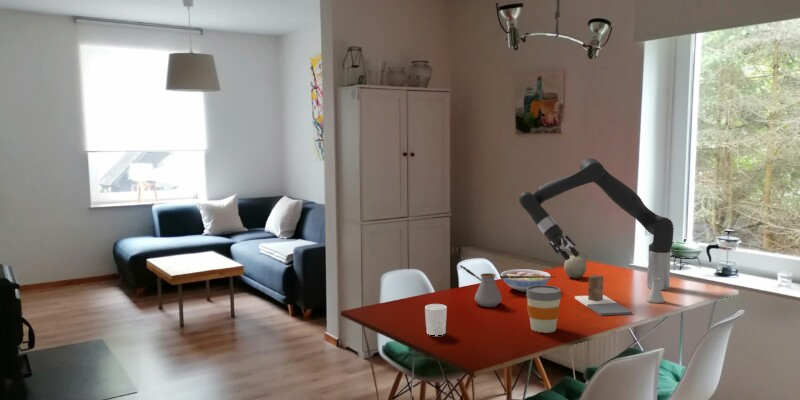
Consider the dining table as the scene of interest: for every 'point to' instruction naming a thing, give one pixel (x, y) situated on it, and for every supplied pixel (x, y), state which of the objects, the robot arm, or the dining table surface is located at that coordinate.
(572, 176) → the robot arm
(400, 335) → the dining table surface
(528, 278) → the ramen bowl
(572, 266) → the fruit
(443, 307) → the white cup
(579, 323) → the dining table surface
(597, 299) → the block
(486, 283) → the coffee pot
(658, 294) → the flask
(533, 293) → the reusable coffee cup
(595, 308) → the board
